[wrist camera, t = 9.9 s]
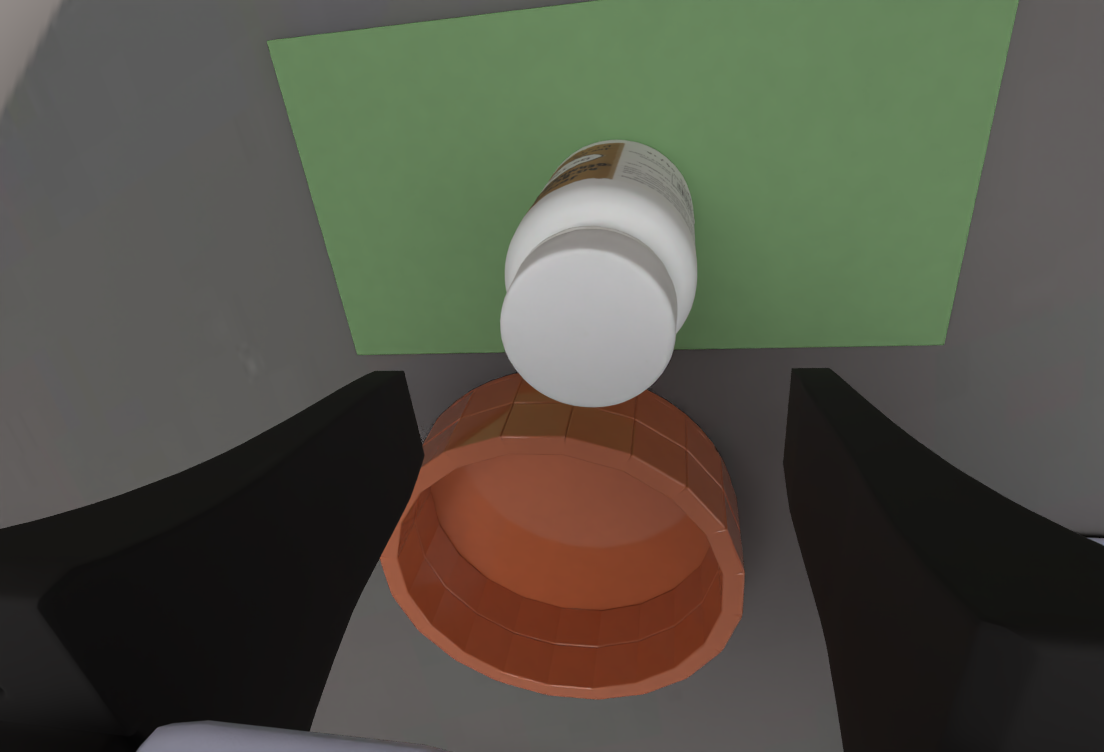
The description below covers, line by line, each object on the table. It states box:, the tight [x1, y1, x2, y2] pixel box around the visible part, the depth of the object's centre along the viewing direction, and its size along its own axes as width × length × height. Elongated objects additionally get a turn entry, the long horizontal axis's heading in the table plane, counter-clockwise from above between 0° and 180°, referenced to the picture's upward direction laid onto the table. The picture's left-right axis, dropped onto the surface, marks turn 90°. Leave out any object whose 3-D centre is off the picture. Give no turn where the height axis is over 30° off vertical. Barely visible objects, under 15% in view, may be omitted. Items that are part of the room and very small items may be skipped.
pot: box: [380, 373, 745, 700], centre depth 24 cm, size 12×12×4 cm
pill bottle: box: [500, 140, 697, 407], centre depth 16 cm, size 4×4×8 cm
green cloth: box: [267, 0, 1019, 355], centre depth 19 cm, size 19×10×1 cm, turn 96°
